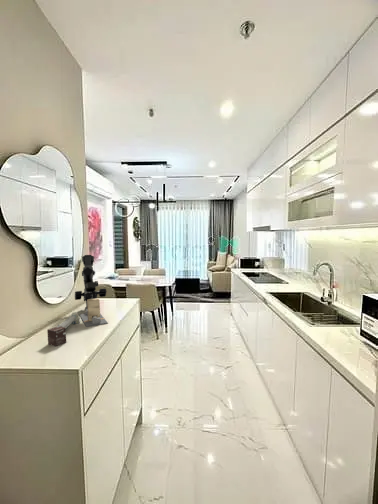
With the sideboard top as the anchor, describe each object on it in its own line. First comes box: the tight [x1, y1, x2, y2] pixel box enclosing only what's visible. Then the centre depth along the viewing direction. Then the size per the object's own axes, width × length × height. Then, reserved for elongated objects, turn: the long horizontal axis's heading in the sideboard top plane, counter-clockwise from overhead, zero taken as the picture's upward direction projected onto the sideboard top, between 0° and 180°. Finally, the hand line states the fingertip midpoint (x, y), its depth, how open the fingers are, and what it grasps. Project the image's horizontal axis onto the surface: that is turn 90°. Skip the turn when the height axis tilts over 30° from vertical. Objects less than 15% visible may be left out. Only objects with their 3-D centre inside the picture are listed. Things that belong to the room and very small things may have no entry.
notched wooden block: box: [87, 297, 101, 321], centre depth 178 cm, size 5×6×12 cm
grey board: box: [79, 308, 109, 328], centre depth 183 cm, size 30×12×4 cm, turn 27°
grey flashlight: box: [56, 311, 81, 329], centre depth 167 cm, size 5×7×25 cm
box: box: [46, 325, 67, 347], centre depth 142 cm, size 6×6×7 cm
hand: (92, 305), depth 181 cm, fingers closed, pressing on notched wooden block
